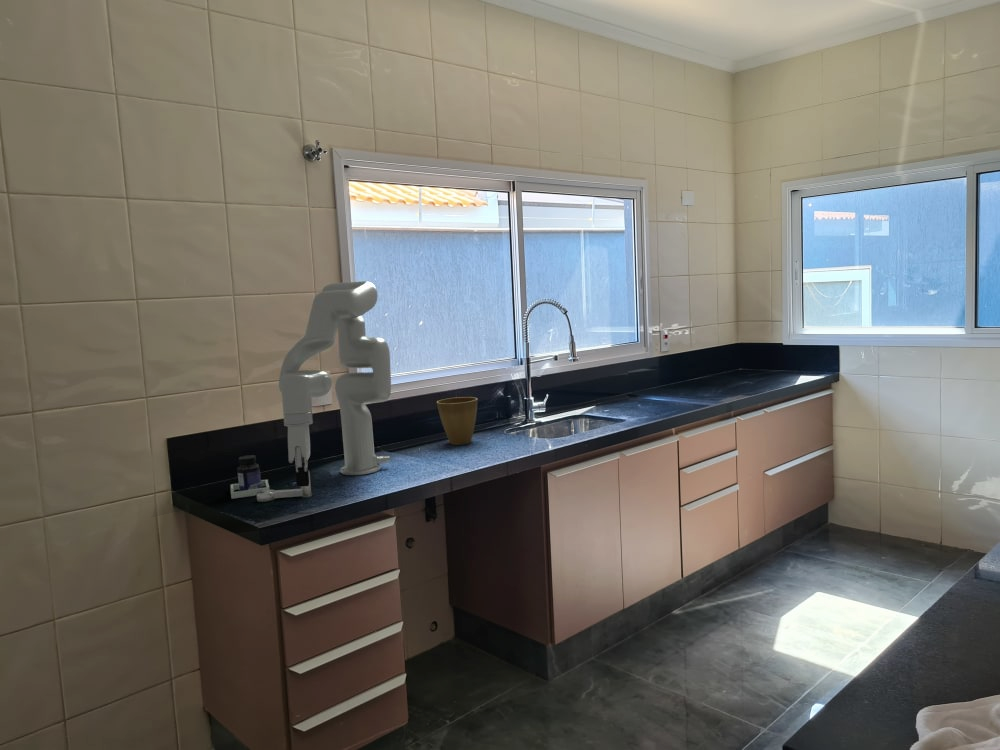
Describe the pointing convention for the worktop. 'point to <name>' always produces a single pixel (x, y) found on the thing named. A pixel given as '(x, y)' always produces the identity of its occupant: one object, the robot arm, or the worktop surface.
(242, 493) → the pale green square frame
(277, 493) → the crank
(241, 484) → the pill bottle
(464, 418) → the plant pot
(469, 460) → the worktop surface
